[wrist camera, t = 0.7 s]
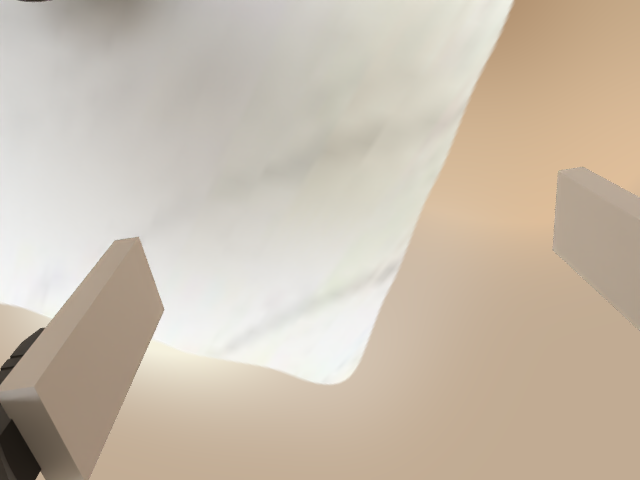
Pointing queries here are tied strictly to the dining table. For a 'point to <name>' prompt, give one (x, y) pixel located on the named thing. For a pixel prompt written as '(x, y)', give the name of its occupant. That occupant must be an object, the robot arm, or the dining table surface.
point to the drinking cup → (35, 0)
